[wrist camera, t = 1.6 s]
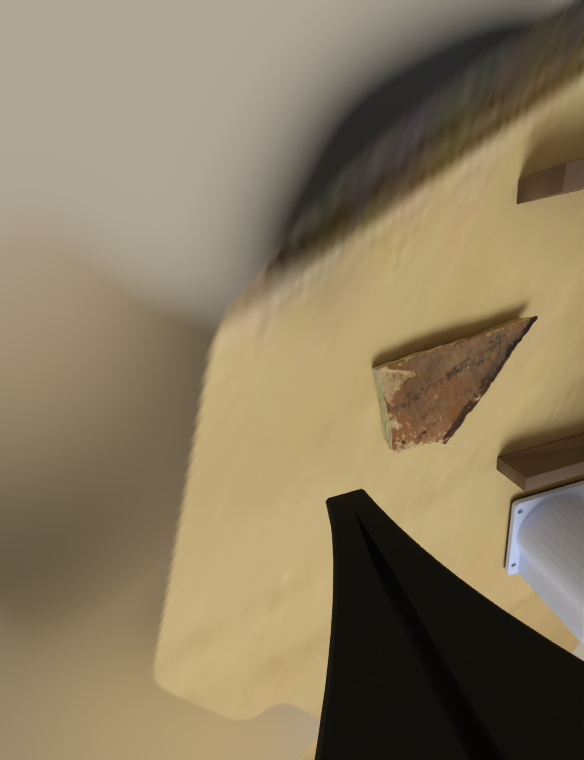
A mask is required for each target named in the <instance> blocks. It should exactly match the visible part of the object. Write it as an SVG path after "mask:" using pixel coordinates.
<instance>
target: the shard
mask: <svg viewBox="0 0 584 760" xmlns="http://www.w3.org/2000/svg"><path fill="white" fill-rule="evenodd" d="M537 318H538V317H537V316H534V317H527V318H514V319H512V320H510V321H507V322H504V323H502V324H499V325H496V326H494V327H492V328H490V329H487V330H486V331H484V332H481V333H479V334H477V335H475V336H472V337H465V338H462V339H459V340H456V341H454V342H452V343H449V344H445V345H440V346H438V347H434V348H432V349H430V350H426V351H421V352H416V353H412V354H410V355H408V356H405V357H402V358H400V359H399V360H396V361H391V362H386V363H383V364H382V365H380V366H376V367H374V368H372V372H373V376H374V379H375V385H376V389H377V393H378V398H379V401H380V404H381V419H382V426H383V435H384V437H385V440H386V441H387V444H388V446H389V449H390V450H391V451H392V452H393V453H398V452H402V451H405V450H408V449H411V448H414V447H417V446H419V445H424V444H431V443H437V442H440V443H442V444H446V443H447V442H448V440H449V439H450V438H451V437H452V436H453V435H454V433H455V431H456V430H457V429H458V428H459V427H460V426H461V424H462V423H463V422H464V420H465V417H466V415H467V414H468V413H469V412H471V411H472V410H473V408H474V407H475V406H476V405H477V403H478V402H479V400H480V399H481V397H482V396H483V395H484V394H485V393H486V392H487V390H488V389H489V387H490V385H491V383H492V382H493V381H494V380H495V378H496V377H497V375H498V374H499V372H500V371H501V370H502V368H503V366H504V365H505V363H506V361H507V360H508V359H509V357H510V355H511V353H512V351H513V350H514V349H515V347H516V346H517V344H518V343H519V342H520V341H521V340H522V338H523V336H524V335H525V334H526V333H527V332H528V331H529V329H530V327H531V326H532V324H533V323H534V322H535V321H536V320H537Z"/></svg>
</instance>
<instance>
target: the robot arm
mask: <svg viewBox="0 0 584 760" xmlns="http://www.w3.org/2000/svg"><path fill="white" fill-rule="evenodd" d="M326 505H327V510H328V515H329V519H330V524H331V530H332V543H333V606H332V622H331V636H330V646H329V657H328V667H327V676H326V684H325V692H324V699H323V706H322V713H321V720H320V728H319V735H318V742H317V748H316V754H315V760H584V661H583V660H581V659H579V658H578V657H576V656H574V655H573V654H571V653H570V652H568V651H566V650H565V649H563V648H561V647H560V646H558V645H556V644H555V643H553V642H552V641H550V640H549V639H547V638H546V637H544V636H543V635H541V634H539V633H538V632H536V631H535V630H533V629H532V628H530V627H529V626H527V625H526V624H524V623H523V622H521V621H520V620H518V619H517V618H515V617H514V616H512V615H511V614H509V613H507V612H506V611H504V610H503V609H501V608H500V607H499V606H497V605H496V604H494V603H493V602H492V601H490V600H489V599H487V598H486V597H485V596H483V595H482V594H480V593H479V592H478V591H476V590H475V589H473V588H472V587H471V586H469V585H468V584H467V583H465V582H464V581H463V580H461V579H460V578H459V577H458V576H456V575H455V574H454V573H452V572H451V571H450V570H449V569H447V568H446V567H445V566H444V565H442V564H441V563H440V562H439V561H437V560H436V559H435V558H434V557H433V556H432V555H430V554H429V553H428V552H427V551H426V550H424V549H423V548H422V547H421V546H420V545H419V544H418V543H416V542H415V541H414V540H413V539H412V538H411V537H410V536H409V535H408V534H407V533H405V532H404V531H403V530H402V529H401V528H400V527H399V526H398V525H397V524H396V523H395V522H394V521H393V520H392V519H391V518H390V517H389V516H388V515H387V514H386V513H385V512H384V511H383V510H382V509H381V508H380V507H379V506H378V505H377V504H376V503H375V502H374V501H373V500H372V498H371V497H370V496H369V495H368V494H367V493H366V492H365V491H364V490H363V489H359V490H355V491H352V492H348V493H345V494H341V495H338V496H334V497H331V498H328V499H327V500H326ZM505 571H506V572H507V573H508V574H509V575H514V574H517V573H518V574H519V575H520V576H521V577H522V578H523V579H524V580H525V581H526V583H527V584H528V585H529V586H530V587H531V588H532V589H533V590H534V591H535V592H536V594H537V595H538V596H539V597H540V598H541V599H542V600H543V601H544V602H545V603H546V605H547V606H548V607H549V608H550V609H551V610H552V611H553V612H554V613H555V614H556V616H557V617H558V618H559V619H560V620H561V621H562V622H563V623H564V624H565V625H566V626H567V628H568V629H569V630H570V631H571V632H572V633H573V634H574V635H575V636H576V637H577V639H579V640H580V641H581V642H582V643H583V644H584V480H583V481H580V482H576V483H573V484H570V485H566V486H563V487H559V488H556V489H553V490H549V491H546V492H542V493H539V494H536V495H532V496H529V497H525V498H522V499H519V500H516V501H514V502H513V504H512V511H511V520H510V529H509V539H508V548H507V557H506V566H505Z"/></svg>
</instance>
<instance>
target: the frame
mask: <svg viewBox="0 0 584 760" xmlns="http://www.w3.org/2000/svg"><path fill="white" fill-rule="evenodd" d="M582 189H584V159H580V160H576V161H571V162H566V163H564V164H561V165H558V166H555V167H553V168H550V169H547V170H544V171H541V172H539V173H536V174H533V175H530V176H528V177H525V178H522V179H519V186H518V199H517V204H520V203H524V202H529V201H533V200H538V199H542V198H547V197H551V196H555V195H560V194H564V193H569V192H573V191H578V190H582ZM497 470H498V471H499V472H501V473H502V474H503V475H505V476H506V477H507V478H508V479H510V480H511V481H512V482H514V483H515V484H516V485H517V486H519V487H520V488H521V489H523V490H524V491H527V490H530V489H533V488H537V487H540V486H544V485H547V484H551V483H554V482H557V481H561V480H564V479H568V478H571V477H575V476H578V475H581V474H584V433H583V434H580V435H576V436H573V437H569V438H566V439H562V440H559V441H555V442H552V443H548V444H545V445H541V446H538V447H534V448H530V449H527V450H523V451H520V452H516V453H513V454H509V455H506V456H502V457H499V458H498V461H497Z"/></svg>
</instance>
